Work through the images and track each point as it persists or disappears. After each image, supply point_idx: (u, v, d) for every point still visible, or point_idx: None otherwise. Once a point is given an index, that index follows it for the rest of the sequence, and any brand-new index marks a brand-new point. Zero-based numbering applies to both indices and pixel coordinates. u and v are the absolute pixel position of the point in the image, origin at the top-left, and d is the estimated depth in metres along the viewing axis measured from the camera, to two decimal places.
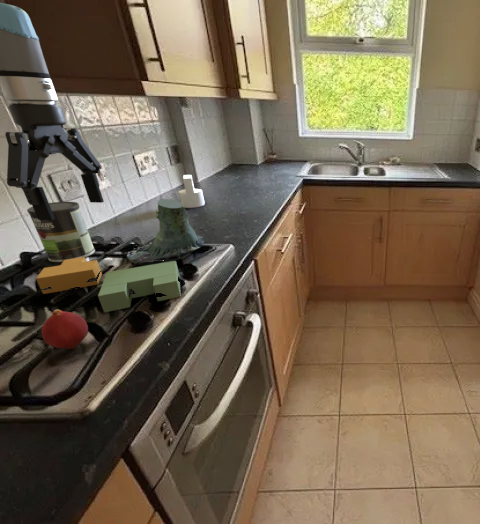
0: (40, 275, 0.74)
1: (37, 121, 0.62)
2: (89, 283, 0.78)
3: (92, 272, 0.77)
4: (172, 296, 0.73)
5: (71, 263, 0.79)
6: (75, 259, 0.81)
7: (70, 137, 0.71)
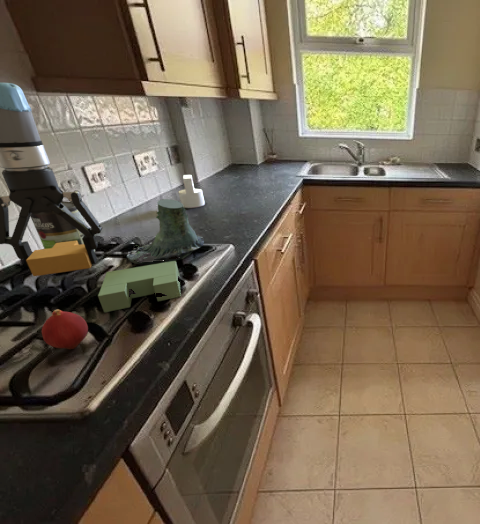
0: (30, 257, 0.72)
1: (9, 186, 0.66)
2: (81, 266, 0.76)
3: (84, 255, 0.75)
4: (172, 296, 0.73)
5: (63, 246, 0.78)
6: (67, 242, 0.80)
7: (68, 199, 0.72)
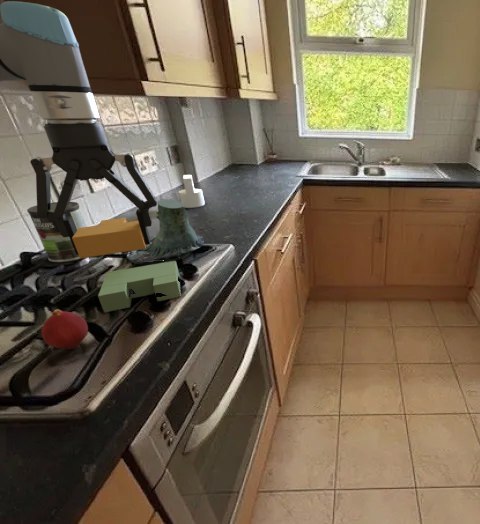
0: (76, 234, 0.59)
1: (53, 143, 0.53)
2: (135, 246, 0.63)
3: (139, 232, 0.62)
4: (172, 296, 0.73)
5: (111, 224, 0.65)
6: (115, 220, 0.67)
7: (121, 163, 0.59)
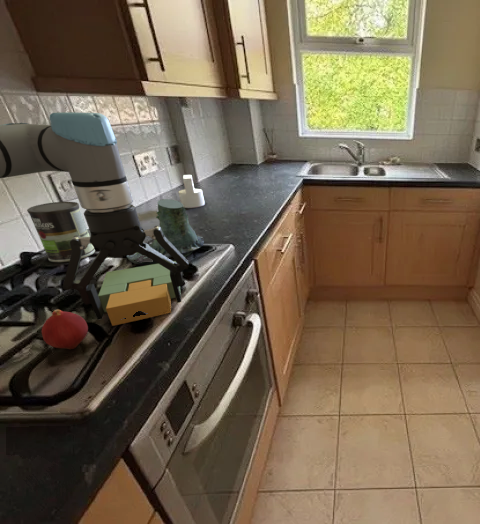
0: (109, 304, 0.64)
1: (92, 229, 0.57)
2: (162, 312, 0.68)
3: (166, 299, 0.67)
4: (172, 296, 0.73)
5: (139, 288, 0.69)
6: (142, 283, 0.71)
7: (151, 237, 0.64)
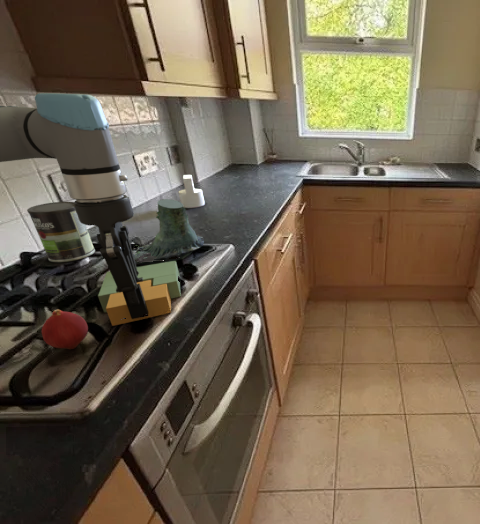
0: (109, 304, 0.64)
1: (118, 218, 0.55)
2: (162, 312, 0.68)
3: (166, 299, 0.67)
4: (172, 296, 0.73)
5: None
6: (142, 283, 0.71)
7: None
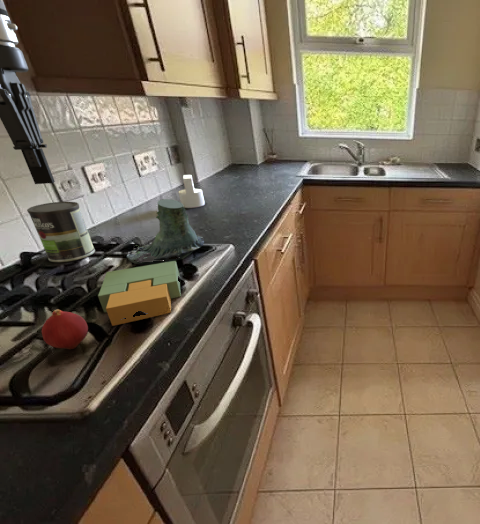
0: (109, 304, 0.64)
1: (7, 64, 0.56)
2: (162, 312, 0.68)
3: (166, 299, 0.67)
4: (172, 296, 0.73)
5: (139, 288, 0.69)
6: (142, 283, 0.71)
7: None
